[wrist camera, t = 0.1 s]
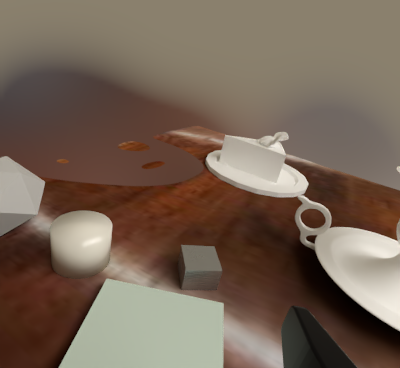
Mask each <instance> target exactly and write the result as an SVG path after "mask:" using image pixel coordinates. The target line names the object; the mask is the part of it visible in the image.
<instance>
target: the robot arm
mask: <svg viewBox="0 0 400 368" xmlns="http://www.w3.org/2000/svg"><path fill="white" fill-rule="evenodd" d="M281 336H282V350H283V364H284V368H357V367H356V365H355V364H354V363H353V362H352V361H351V359H350V358H349V357H348V356H347V355H346V354H345V352H344V351H343V350H342V349H341V348H340V347H339V345H338V344H337V343H336V342H335V341H334V340H333V338H332V337H331V336H330V335H329V334H328V333H327V331H326V330H325V329H324V328H323V327H322V325H321V324H320V323H319V322H318V321H317V320H316V318H315V317H314V316H313V315H312V314H311V313H310V311H309V310H308V309H306V308H304V307H299V306H292V307H290V309H289V311H288V313H287V316H286V318H285V320H284V322H283V324H282V329H281Z"/></svg>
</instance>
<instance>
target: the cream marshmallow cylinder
mask: <svg viewBox="0 0 400 368" xmlns="http://www.w3.org/2000/svg"><path fill="white" fill-rule="evenodd" d="M111 237H112V222H111V221H110V219H109V218H108V217H106V216H105V215H103V214H101V213H98V212H93V211H74V212H69V213H66V214H64V215H61V216H59V217H58V218H56V219H55V220H54V221H53V222H52V224H51V226H50V241H51V264H52V268H53V270H54V271H55V272H56V273H57V274H59V275H61V276H63V277H66V278H71V279H82V278H88V277H91V276H94V275H96V274H98V273H100V272H101V271H103V270H104V269H105V268H106V267H107V265H108V263H109V261H110V250H111Z"/></svg>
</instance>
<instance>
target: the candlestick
mask: <svg viewBox="0 0 400 368" xmlns="http://www.w3.org/2000/svg"><path fill="white" fill-rule="evenodd" d="M396 170H397V171H398V172H399V173H400V166H398V167H396ZM298 199H299V200H301V201H302V203H303V204H302V205H301V206H300V207H299V208H298V210H297V212H296V214H295V221H296V224H297V226H298V228H299V230H300V232H301V233H300V241H301V243H302V244H304V245H305V246H307V247H309V248H311V249H313V250H315V251H316V255H317V257H318V259H319V261H320V263H321V265H322V267H323V268H324V269H325V271H326V272H327V274H328V275H329V276H330V277H331V278H332V280H333V281H334V282H335V283H336V284H337V285H338V286H339V287H340V288H341V289H342V290H343V291H344V292H345V293H346V294H347V295H348V296H350V297H351V298H352V299H353V300H354V301H355V302H357V303H358V304H359V305H360V306H362V307H363V308H364V309H366V310H367V311H368V312H370V313H371V314H373V315H374V316H376V317H377V318H379V319H380V320H382V321H383V322H385V323H386V324H388V325H390V326H391V327H393V328H395V329H397V330H398V331H400V220H399V222H398V224H397V238H398V241H396V240H393V239H391V238H388V237H385V236H383V235H380V234H377V233H373V232H370V231H366V230H362V229H356V228H349V227H334V228H329V227H330V225H331V214H330V212H329V210H328V209H327V208H326V207H325V206H323V205H321V204H319V203H316V202H311V201H310V200H308V199H307V198H306V197H305V196H301V195H299V196H298ZM311 208H313V209H317V210H320V211H321V212H322V213H323V214H324V216H325V218H326V222H325V224H324V225H323V226H322V227H320V228H316V229H312V228H309V227H307V226H305V225H304V224H303V223H302V221H301V218H300V215H301V213H302V212H303V211H304V210H306V209H311ZM308 235H317V237H316V239H315V244H314V243H311V242H309V241H307V240H306V237H307V236H308Z"/></svg>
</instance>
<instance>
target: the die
mask: <svg viewBox="0 0 400 368" xmlns="http://www.w3.org/2000/svg"><path fill="white" fill-rule="evenodd" d="M44 185H45V181H43V180H42V179H40V178H39V177H37V176H36V175H34V174H32V173H31V172H29V171H28V170H26V169H25V168H24V167H22V166H21V165H19V164H18V163H16V162H14V161H13V160H12V159H10V158H8V157H7V156H5V157H2V158H0V236H2V235H3V234H5V233H7V232H8V231H10V230H12V229H14V228H15V227H17V226H19V225H20V224H22V223H24V222H26V221H27V220H29V219H31V218H32V217H34V216H36V215H37V214H38V210H39V206H40V202H41V198H42V193H43V189H44Z"/></svg>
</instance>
